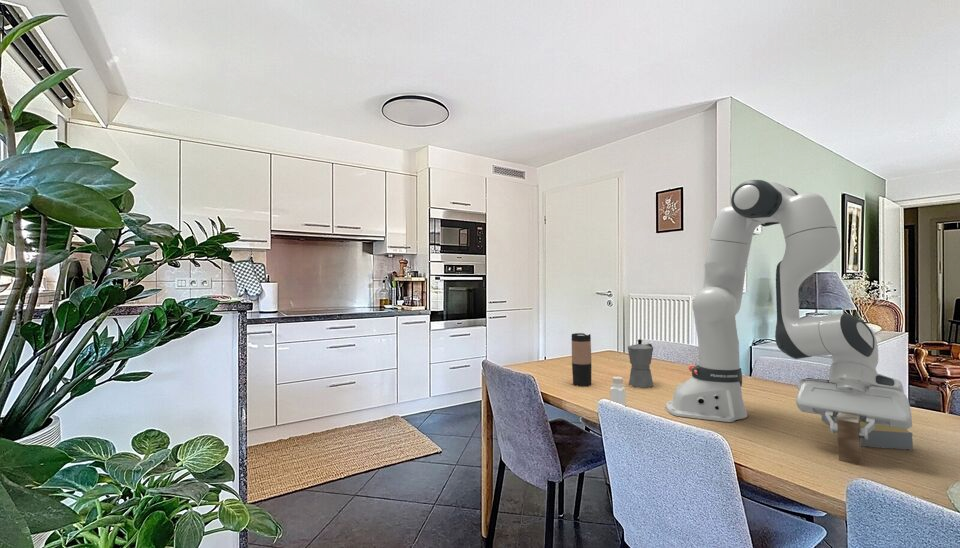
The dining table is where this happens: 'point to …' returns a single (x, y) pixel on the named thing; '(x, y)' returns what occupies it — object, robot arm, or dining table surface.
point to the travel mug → (581, 359)
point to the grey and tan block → (885, 436)
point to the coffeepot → (640, 365)
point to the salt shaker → (618, 391)
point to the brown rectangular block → (849, 438)
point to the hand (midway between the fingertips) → (848, 434)
